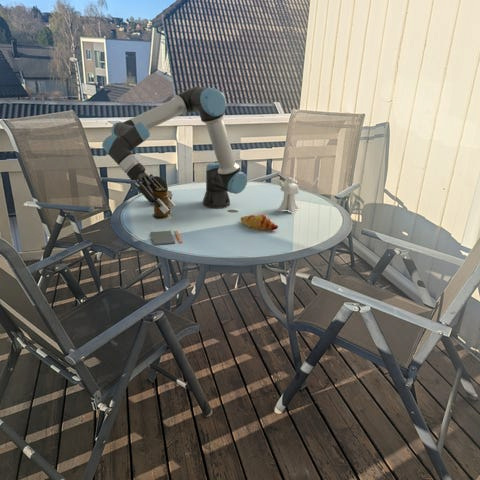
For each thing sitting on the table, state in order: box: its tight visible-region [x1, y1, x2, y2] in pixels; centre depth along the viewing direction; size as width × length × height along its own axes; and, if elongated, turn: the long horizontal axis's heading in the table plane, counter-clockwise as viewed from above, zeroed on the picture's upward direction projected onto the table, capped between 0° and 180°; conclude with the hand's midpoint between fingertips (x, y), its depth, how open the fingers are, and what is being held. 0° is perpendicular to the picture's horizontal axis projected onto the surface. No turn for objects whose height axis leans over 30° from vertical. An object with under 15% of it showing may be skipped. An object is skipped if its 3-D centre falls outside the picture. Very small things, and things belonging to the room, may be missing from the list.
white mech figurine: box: [277, 176, 300, 213], centre depth 221 cm, size 12×13×18 cm
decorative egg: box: [152, 175, 169, 204], centre depth 225 cm, size 12×12×15 cm
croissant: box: [240, 213, 279, 231], centre depth 199 cm, size 21×10×8 cm, turn 56°
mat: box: [150, 230, 176, 246], centre depth 181 cm, size 9×14×1 cm, turn 17°
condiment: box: [150, 187, 173, 221], centre depth 174 cm, size 7×8×12 cm
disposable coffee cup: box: [167, 189, 174, 216], centre depth 208 cm, size 10×10×12 cm
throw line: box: [174, 230, 183, 244], centre depth 183 cm, size 1×14×1 cm, turn 18°
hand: (169, 209), depth 175 cm, fingers closed on condiment, 6 cm apart
